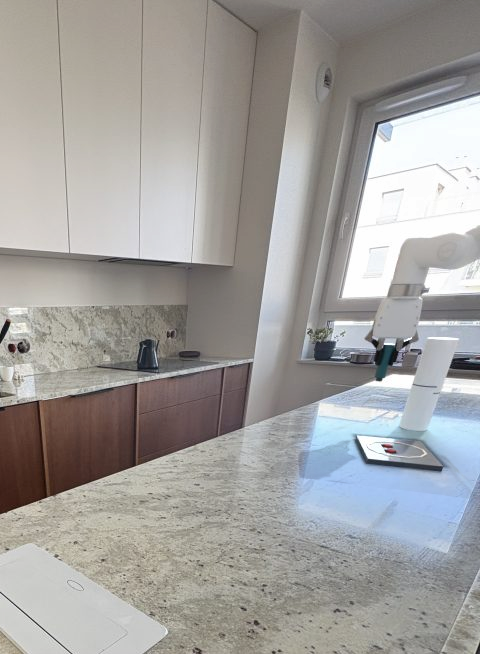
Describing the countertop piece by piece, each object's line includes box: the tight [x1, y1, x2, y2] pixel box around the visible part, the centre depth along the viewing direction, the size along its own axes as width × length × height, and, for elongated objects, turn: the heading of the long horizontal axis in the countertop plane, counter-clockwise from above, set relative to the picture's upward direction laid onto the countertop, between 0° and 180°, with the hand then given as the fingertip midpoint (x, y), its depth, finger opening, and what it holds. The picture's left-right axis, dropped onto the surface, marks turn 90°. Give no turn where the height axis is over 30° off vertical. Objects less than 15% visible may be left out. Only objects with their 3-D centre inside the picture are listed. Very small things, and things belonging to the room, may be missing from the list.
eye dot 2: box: [386, 449, 395, 453], centre depth 105 cm, size 2×2×1 cm
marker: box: [374, 343, 395, 383], centre depth 119 cm, size 3×3×10 cm
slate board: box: [355, 435, 444, 472], centre depth 106 cm, size 15×20×1 cm
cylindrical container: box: [398, 336, 460, 432], centre depth 121 cm, size 7×7×25 cm
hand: (383, 364), depth 120 cm, fingers closed on marker, 2 cm apart
